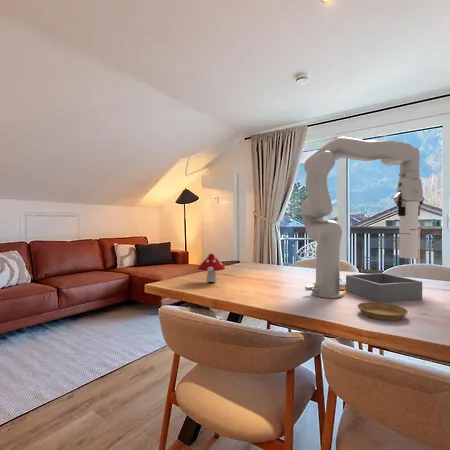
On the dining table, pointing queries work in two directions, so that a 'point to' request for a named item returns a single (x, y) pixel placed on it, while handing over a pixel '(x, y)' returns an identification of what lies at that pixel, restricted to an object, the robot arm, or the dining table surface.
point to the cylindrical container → (409, 231)
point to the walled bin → (384, 287)
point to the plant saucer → (382, 311)
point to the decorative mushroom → (211, 267)
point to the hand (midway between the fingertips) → (408, 215)
